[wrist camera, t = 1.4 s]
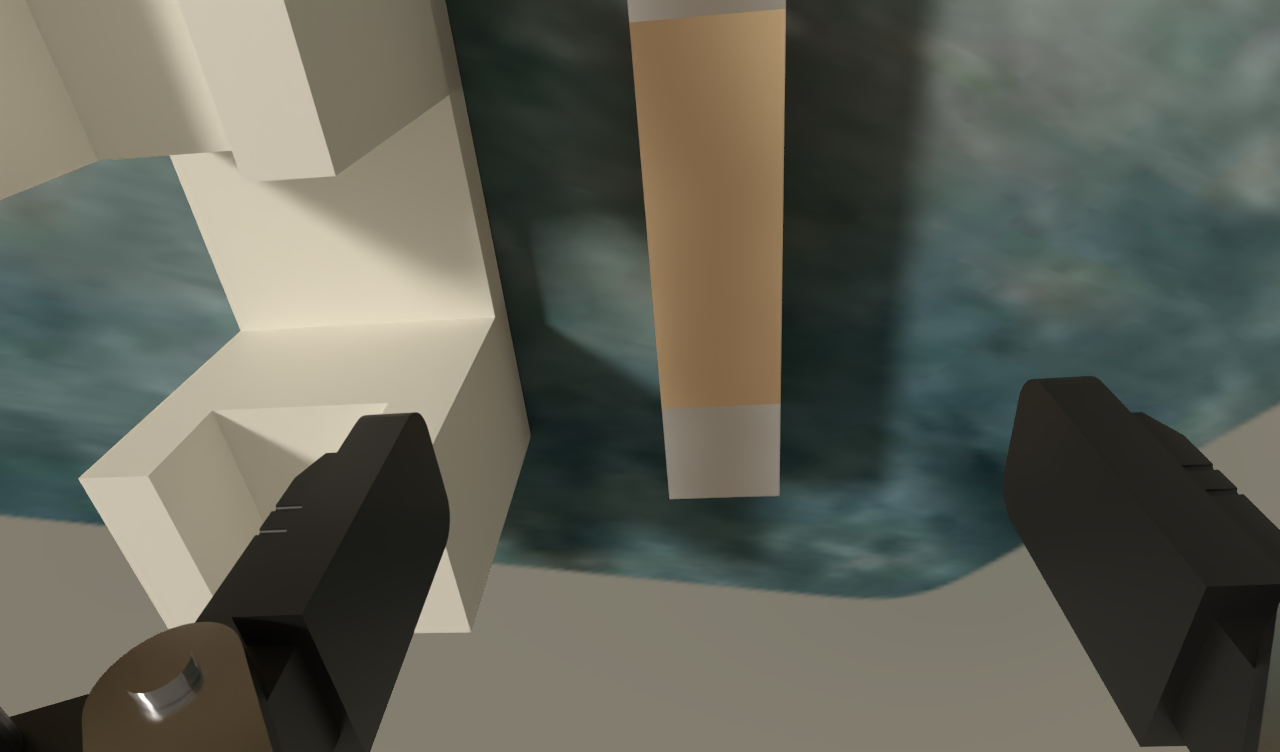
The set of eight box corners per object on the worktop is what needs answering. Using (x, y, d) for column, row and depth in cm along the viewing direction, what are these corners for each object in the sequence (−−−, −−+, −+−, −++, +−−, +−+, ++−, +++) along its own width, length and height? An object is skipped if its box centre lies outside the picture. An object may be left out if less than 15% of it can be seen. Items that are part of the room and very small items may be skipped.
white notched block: (415, -153, 16) (222, -208, 10) (530, 436, 25) (471, 632, 18) (96, -117, 17) (-296, -144, 10) (311, 444, 25) (172, 636, 19)
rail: (767, -164, 16) (788, -188, 13) (766, 413, 24) (779, 495, 20) (628, -149, 16) (612, -167, 13) (671, 417, 24) (669, 499, 21)
